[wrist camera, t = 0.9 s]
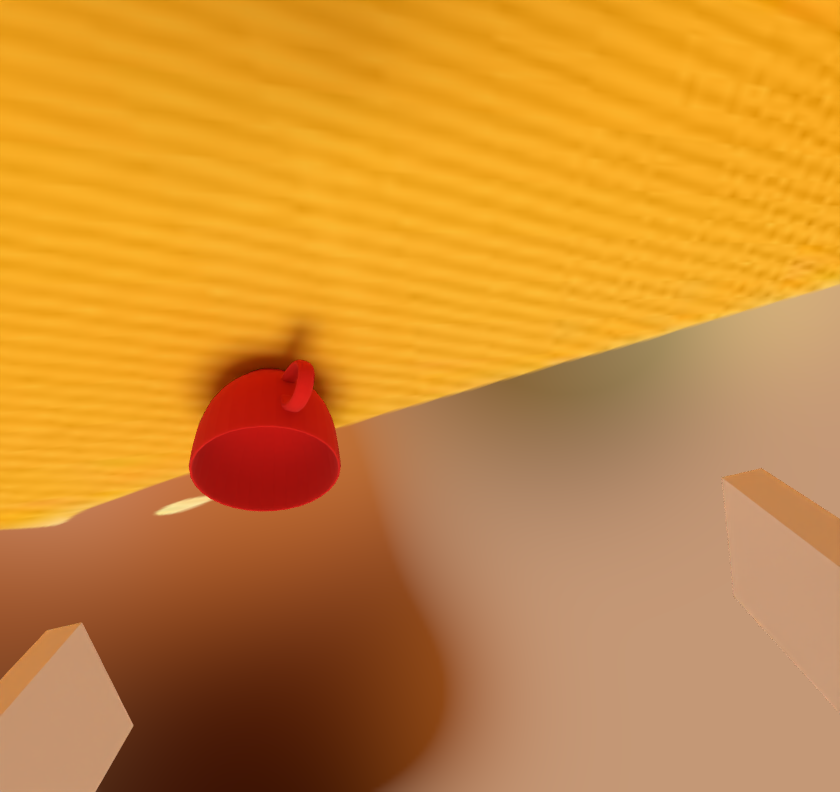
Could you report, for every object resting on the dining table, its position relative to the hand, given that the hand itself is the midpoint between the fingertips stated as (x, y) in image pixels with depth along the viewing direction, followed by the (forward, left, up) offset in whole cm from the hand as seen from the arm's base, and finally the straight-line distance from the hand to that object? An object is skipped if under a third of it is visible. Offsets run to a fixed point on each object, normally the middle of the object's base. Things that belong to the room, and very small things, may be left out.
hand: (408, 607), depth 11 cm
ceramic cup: (+18, -22, -35) cm, 45 cm away
